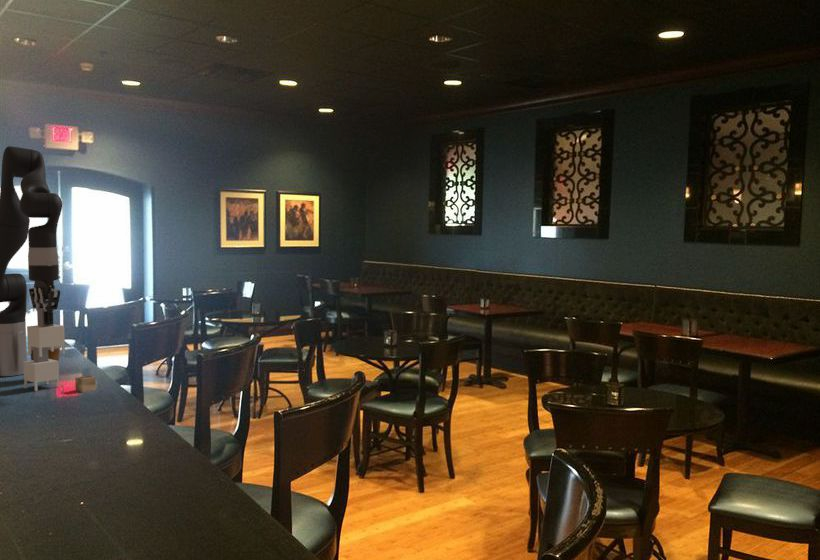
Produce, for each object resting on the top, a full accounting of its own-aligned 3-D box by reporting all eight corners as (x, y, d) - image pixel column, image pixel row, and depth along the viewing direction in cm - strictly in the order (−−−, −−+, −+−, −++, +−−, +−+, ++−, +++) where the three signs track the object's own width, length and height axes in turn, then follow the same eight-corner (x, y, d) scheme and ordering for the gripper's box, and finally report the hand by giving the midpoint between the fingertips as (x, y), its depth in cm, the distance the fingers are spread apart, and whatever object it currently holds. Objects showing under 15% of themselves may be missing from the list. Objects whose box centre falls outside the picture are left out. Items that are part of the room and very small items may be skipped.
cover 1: (28, 354, 196) (26, 308, 195) (52, 351, 201) (51, 306, 200) (40, 356, 192) (38, 310, 191) (65, 353, 197) (63, 308, 196)
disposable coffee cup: (37, 383, 213) (36, 345, 213) (23, 379, 219) (22, 342, 218) (68, 378, 221) (67, 341, 220) (53, 374, 227) (52, 338, 226)
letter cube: (75, 390, 204) (75, 377, 203) (88, 388, 207) (88, 374, 206) (82, 392, 201) (82, 378, 201) (95, 390, 204) (95, 376, 204)
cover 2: (24, 388, 207) (22, 345, 206) (48, 384, 212) (46, 342, 211) (35, 391, 203) (33, 347, 202) (59, 387, 208) (57, 344, 207)
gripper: (17, 263, 196) (20, 323, 197) (41, 264, 187) (44, 327, 189) (44, 262, 202) (46, 321, 203) (69, 263, 194) (71, 324, 195)
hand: (45, 323), depth 196 cm, fingers closed on cover 1, 3 cm apart
